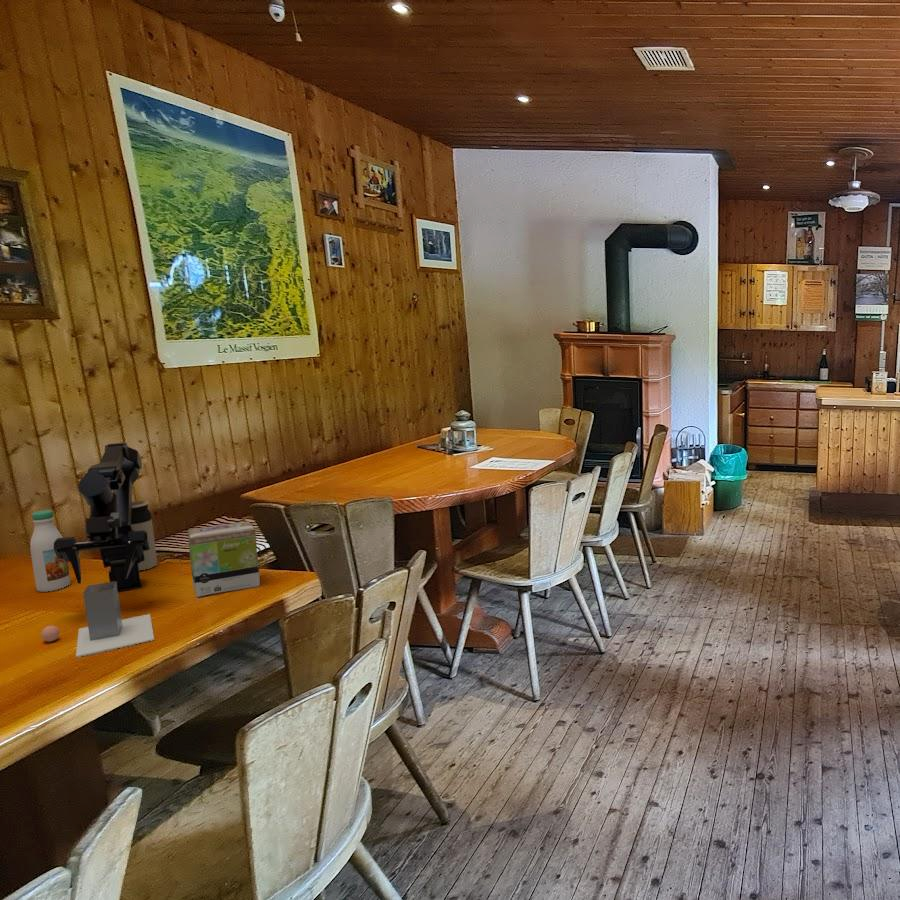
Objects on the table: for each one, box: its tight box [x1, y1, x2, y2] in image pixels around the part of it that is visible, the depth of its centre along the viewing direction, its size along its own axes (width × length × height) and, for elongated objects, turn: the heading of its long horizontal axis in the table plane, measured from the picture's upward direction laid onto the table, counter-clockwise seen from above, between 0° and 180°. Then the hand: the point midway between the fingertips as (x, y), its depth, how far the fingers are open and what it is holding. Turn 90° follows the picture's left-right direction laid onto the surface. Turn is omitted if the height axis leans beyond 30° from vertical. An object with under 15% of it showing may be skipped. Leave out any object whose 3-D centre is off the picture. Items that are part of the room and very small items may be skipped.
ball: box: [40, 625, 60, 643], centre depth 144 cm, size 3×3×3 cm
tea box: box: [187, 520, 261, 598], centre depth 171 cm, size 15×10×15 cm
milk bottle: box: [29, 509, 71, 593], centre depth 179 cm, size 8×8×20 cm
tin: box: [82, 581, 123, 641], centre depth 145 cm, size 5×5×10 cm
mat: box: [75, 613, 155, 659], centre depth 145 cm, size 14×16×1 cm
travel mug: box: [131, 500, 158, 572], centre depth 191 cm, size 8×8×18 cm
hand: (102, 580), depth 153 cm, fingers open, 9 cm apart
